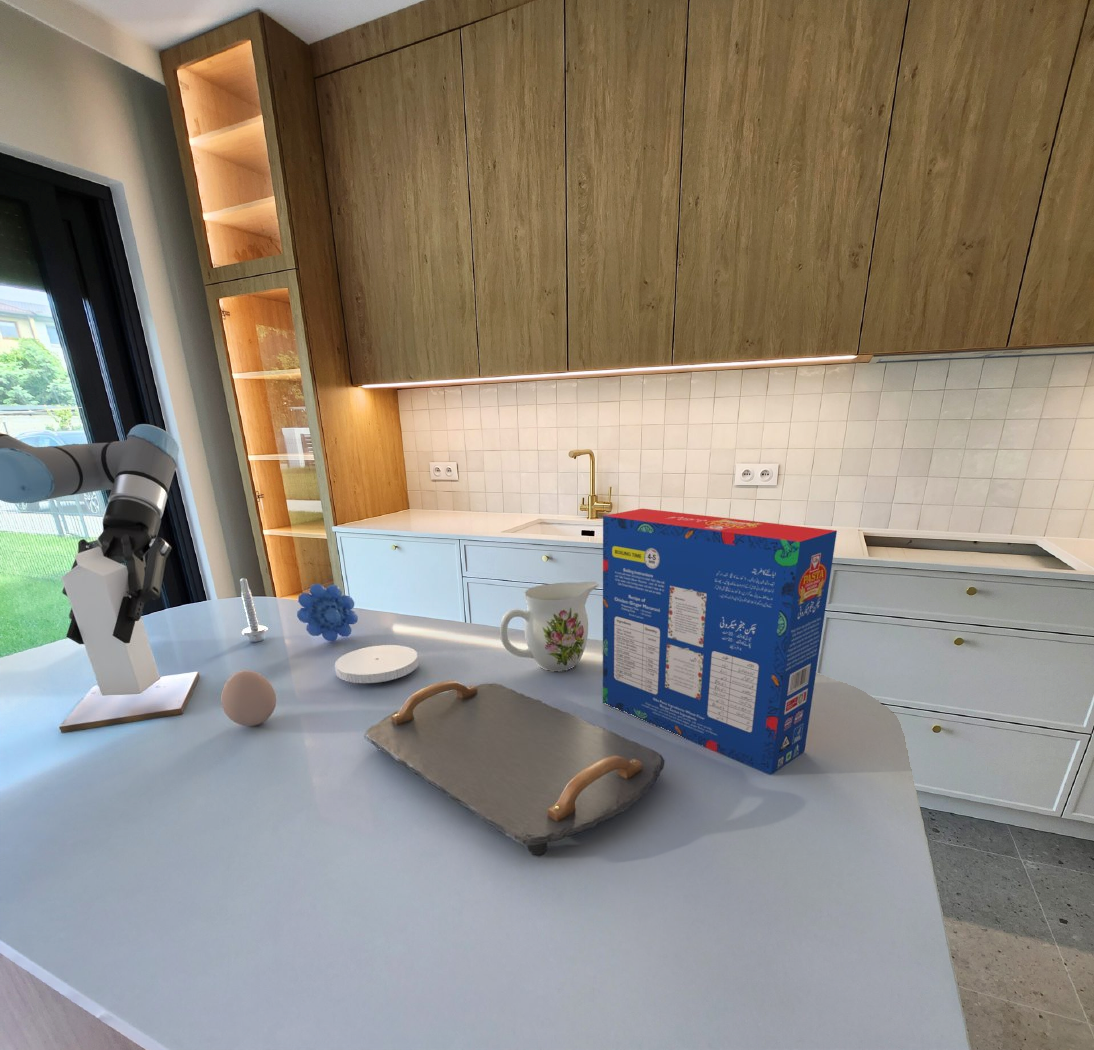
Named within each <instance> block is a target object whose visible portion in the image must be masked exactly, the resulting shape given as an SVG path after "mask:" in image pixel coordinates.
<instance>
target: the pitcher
mask: <svg viewBox="0 0 1094 1050" xmlns="http://www.w3.org/2000/svg"><path fill="white" fill-rule="evenodd" d="M599 586H600V582H598V581H582V582H581V581H580V582H556V583H554V582H553V583H545V584H542V585H536V586H534V587H533V586H532V587H530V588H528V589H526V590H525V591H524V598H525V602H526V606H527V607H526V610H524V609H521V608H512V609H510V610H508V611H506V613H505V614H504V615H503V616H502V618H501V620H500V624H499V636H500V641H501V643H502V645H503V647H504V648H505V649H506V650H507V651H508V652H509V653H510V654H512V655H513V656H516V657H519V658H527V659H529V658H530V659H533V660H534V662H535V663H536V664H537V665H538V667H539V666H540V667H541V668H543V669H545V670H544V671H547V670H552V671H551V672H554V671H558V672H560V671H559V670H566V669H569V668H571V667H573V666H575V665H576V666H577V664H578V663H579V661H580V660H581V659H582V657H583V655H584V652H585V649H586V647H587V641H588V637H589V617H588V613H587V610H586V609H587V608H586V603H587V600H588V598H589V596H590V594H591V592H593V590H595V589H596V588H597V587H599ZM514 618H523V619H524V621H523V623H524V624H523V628H524V638H525V641H526V646H527V649H524V648H523V649H522V648H519V647H516V646H515V645H514V644H512V643H511V642H510V640H509V637H508V636H509V635H508V626H509V624H510V622H511V620H512V619H514ZM576 666H575V667H576ZM540 667H539V668H540ZM541 668H540V669H541ZM543 669H542V670H543ZM566 671H567V670H566Z"/></svg>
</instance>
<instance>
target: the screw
mask: <svg viewBox="0 0 1094 1050" xmlns="http://www.w3.org/2000/svg"><path fill="white" fill-rule="evenodd" d="M239 584H240V588H241V589H240V590H241V598H242V600H243V606H244V609H245V610H244V611H245V612H246V613H245V614H246V617H247V623H248V627H246V628H244V629H243V630H242V631H241V635H242V636H246V637H248V639H249V640H248V641H249V642H251V643H258V642H262V641H264V639H265V638H264V634H265V633H267V632H268V631H269V629H268V627H266V626H265V625H259V621H258V618H257V613H256V610H255V609H256V608H255V604H254V601H253V600H254V598H253V595H252V592H251V589H250V586H249V583H248V580H247V578H244V577H242V578H241V579H239Z"/></svg>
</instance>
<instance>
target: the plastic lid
mask: <svg viewBox="0 0 1094 1050" xmlns="http://www.w3.org/2000/svg"><path fill="white" fill-rule="evenodd" d="M419 661H420V660H419V654H418V652H417V650H415V649H413V648H412V647H409V646H407V645H406V646H405V645H398V644H397V645H396V644H383V645H382V644H381V645H372V646H366V647H362V648H357V649H354V650H352V651H350V652H347V653H345V654H343V655H341V656H340V657H339V658H337V659H336V660H335V662H334V669H335V674H336V676H337V678H339V679H340V680H342V681H345V682H347V683H353V684H374V683H382V682H389V681H392V680H396V679H399V678H403V677H405V676H407V675H409V674H411V673H412V672H413V671H415V670H416V669H417V668H418V667H419V664H420V662H419Z"/></svg>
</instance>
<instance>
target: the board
mask: <svg viewBox="0 0 1094 1050" xmlns="http://www.w3.org/2000/svg"><path fill="white" fill-rule="evenodd" d="M199 679H200V672H199V670H198V671H191V672H184V673H177V674H176V673H175V674H170V675H169V674H168V675H162V676H160V679H159V680H158V681H157V682H155V683H154V684H153V685H151V686H150V687H149V688H147V689H146V690H145V691H143V692H142V693H141V694H127V695H106V696H102V694H101V691H100V688H99V685H98V684H97V685H93V686H92V687H91V689H89V691H88V692H86V694H85V695H84V696H83V698H82V699H81V700H80V701H79V703H78V704H77V705H76V706H75V707H74V709H73V710H72V711H71V712H70V714H69V715H68V716H67V717H66V718H65V719H64V720H63V722H62V723H61V724H60V725H59V730H60V733H62V734H63V733H69V732H75V731H80V730H81V731H82V730H87V729H94V728H100V727H106V726H114V725H120V724H126V723H132V722H140V721H144V720H152V719H158V718H164V717H171V716H178V715H183V713H184V711H185V709H186V707H187V705H188V702H189V701H190V697H191V696H192V694H193V692H194V690H195V687H196V685H197V683H198V681H199Z"/></svg>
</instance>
